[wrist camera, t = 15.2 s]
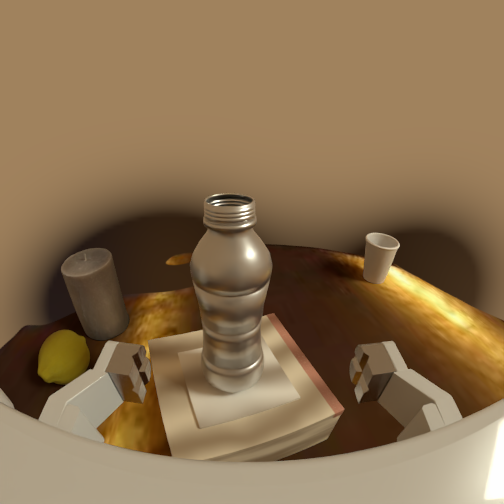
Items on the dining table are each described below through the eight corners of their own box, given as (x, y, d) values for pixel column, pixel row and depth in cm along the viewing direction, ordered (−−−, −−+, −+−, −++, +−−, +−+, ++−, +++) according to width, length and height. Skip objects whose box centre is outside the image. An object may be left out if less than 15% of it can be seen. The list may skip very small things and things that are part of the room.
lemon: (82, 346, 41) (66, 311, 37) (108, 366, 38) (92, 331, 34) (40, 380, 32) (18, 346, 29) (63, 406, 29) (39, 373, 26)
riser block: (327, 438, 29) (345, 408, 25) (189, 485, 23) (174, 464, 19) (270, 350, 44) (273, 311, 40) (159, 376, 38) (147, 338, 34)
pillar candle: (137, 311, 51) (120, 241, 44) (116, 345, 42) (90, 270, 36) (97, 305, 52) (78, 240, 45) (75, 336, 43) (47, 266, 36)
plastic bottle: (204, 356, 32) (189, 189, 23) (260, 355, 33) (270, 188, 23) (201, 400, 26) (174, 215, 17) (266, 398, 27) (283, 214, 18)
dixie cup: (394, 278, 63) (405, 242, 59) (379, 291, 59) (390, 251, 54) (368, 265, 69) (376, 229, 65) (351, 275, 65) (359, 237, 60)
